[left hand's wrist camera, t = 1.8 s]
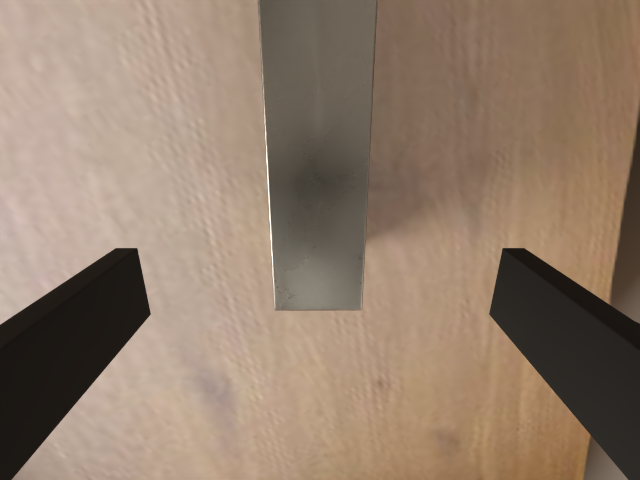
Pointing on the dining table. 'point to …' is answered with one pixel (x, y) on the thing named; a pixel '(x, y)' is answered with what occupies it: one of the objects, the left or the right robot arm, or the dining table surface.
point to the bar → (317, 147)
